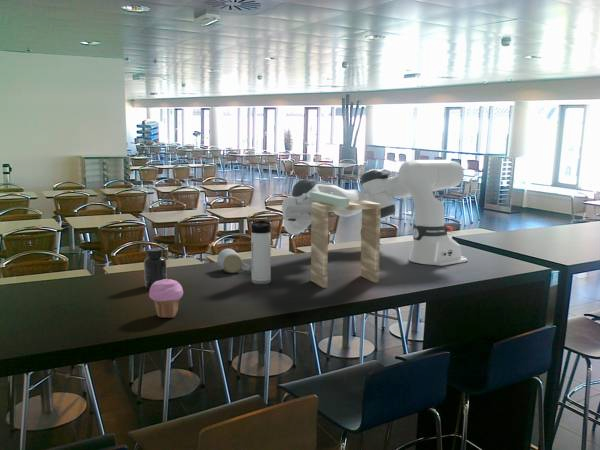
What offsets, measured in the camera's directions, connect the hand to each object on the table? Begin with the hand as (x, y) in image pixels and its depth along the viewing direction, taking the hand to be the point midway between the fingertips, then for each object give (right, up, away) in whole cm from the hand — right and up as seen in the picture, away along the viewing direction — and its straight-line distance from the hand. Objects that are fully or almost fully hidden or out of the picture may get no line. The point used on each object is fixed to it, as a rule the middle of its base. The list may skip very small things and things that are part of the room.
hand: (318, 195), depth 187 cm
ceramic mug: (-30, -27, +10) cm, 41 cm away
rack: (+8, -29, -4) cm, 30 cm away
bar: (+3, -3, -7) cm, 8 cm away
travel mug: (-19, -29, -5) cm, 35 cm away
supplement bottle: (-52, -30, -11) cm, 61 cm away
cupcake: (-42, -34, -40) cm, 67 cm away
